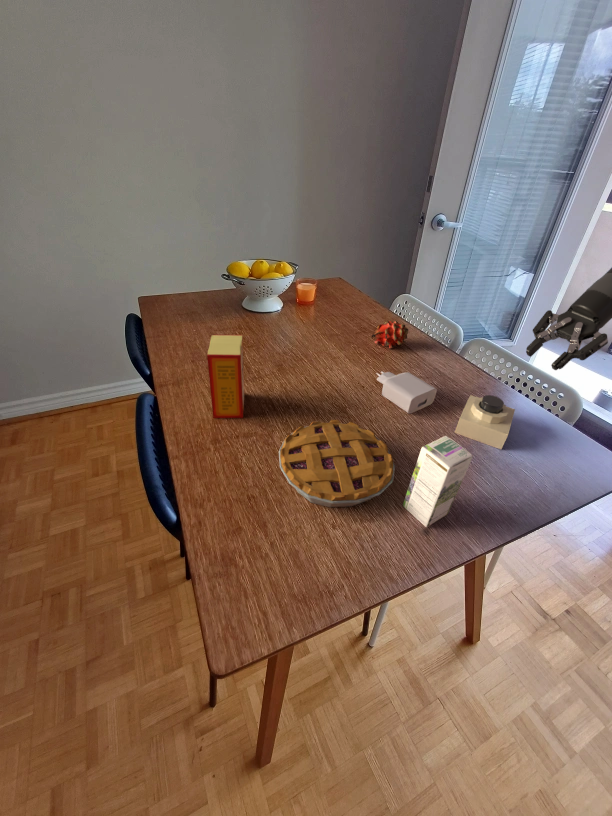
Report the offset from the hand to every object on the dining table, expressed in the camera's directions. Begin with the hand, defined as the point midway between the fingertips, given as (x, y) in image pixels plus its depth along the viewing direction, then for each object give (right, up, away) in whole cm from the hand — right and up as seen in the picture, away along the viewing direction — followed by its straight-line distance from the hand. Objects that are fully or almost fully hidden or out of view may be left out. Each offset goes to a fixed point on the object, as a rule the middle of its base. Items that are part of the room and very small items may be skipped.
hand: (540, 360), depth 85 cm
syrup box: (-29, -29, -15) cm, 44 cm away
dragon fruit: (-25, +9, +37) cm, 45 cm away
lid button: (-10, -10, +2) cm, 14 cm away
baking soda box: (-68, -10, +7) cm, 69 cm away
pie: (-45, -22, -8) cm, 51 cm away
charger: (-27, -7, +15) cm, 32 cm away
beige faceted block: (-10, -15, +5) cm, 19 cm away
